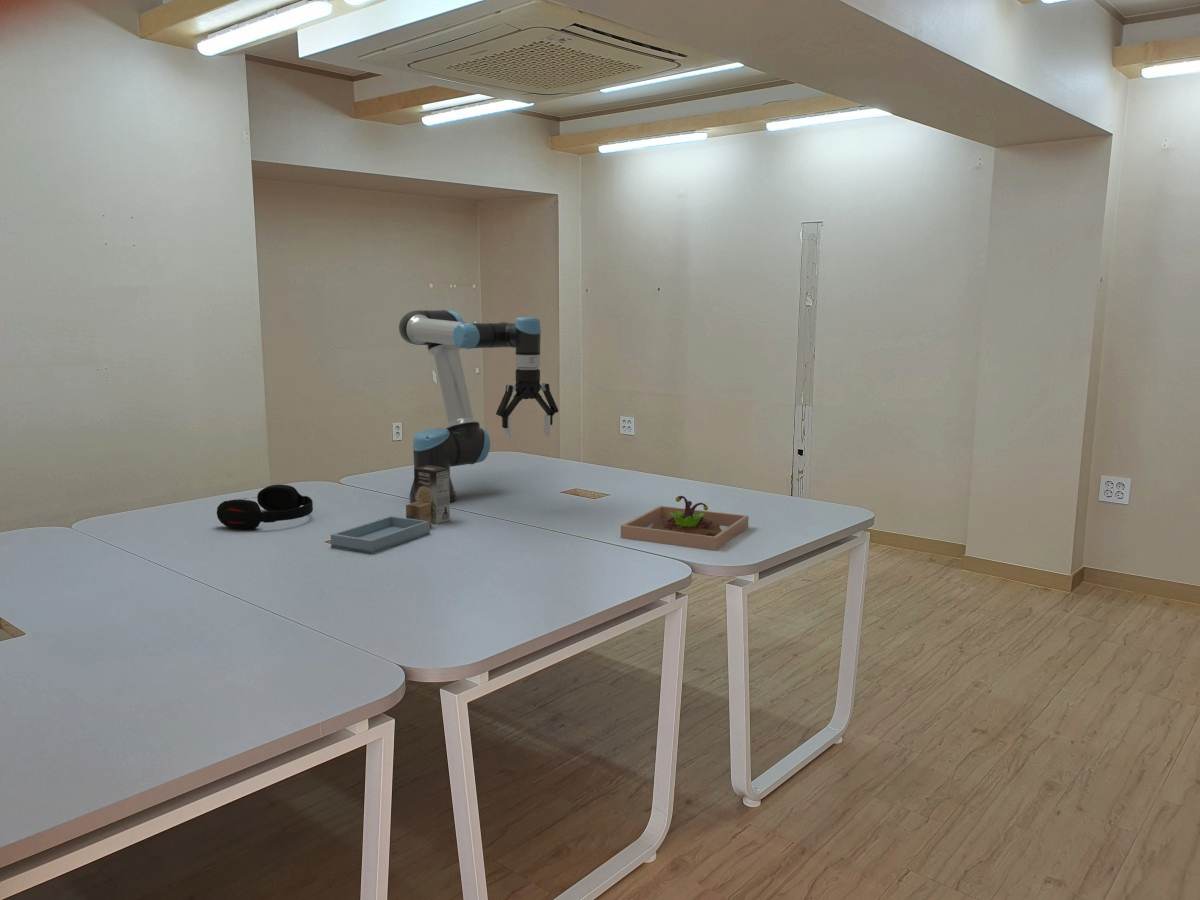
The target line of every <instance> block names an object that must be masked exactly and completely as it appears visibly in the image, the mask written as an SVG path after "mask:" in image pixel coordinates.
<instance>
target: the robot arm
mask: <svg viewBox="0 0 1200 900" xmlns="http://www.w3.org/2000/svg"><path fill="white" fill-rule="evenodd" d="M398 331H399V335H400V337H401V339H403V341H405V342H407V344H408V343H409V344H411V345H414V346H426V347H427V350H428V353H429V354H430V355H432V356H433V357H434V361H435V367H436V371H437V376H438V380H439V381H438V382H439V384H440V388H441V389H440V390H441V395H442V399H443V404H444V408H445V412H446V413H445V414H446V418H447V422H448V423H447V425H446V427H445V428H444V427H443V428H441V427H440V428H439V427H438V428H430V429H425V430H421V431H419V432H417V433H415V435H414V436H413V440H412V441H413V443H412V451H413V469H414V468H418V467H422V466H426V465H431V466H437V467H443V468H449V488H450V503H453V502H454V501H456V499H457V496H456V495H457V492H456V491H455V488H454V485H453V481H452V479H451V478H452V477H451V468H452V467H457V466H458V467H459V466H466V465H474V464H478V463H481V462H484V461H485V460H486V459H487V457H488V456H489V452H490V450H491V438H490V435H489V433H488V432H487V430H486V429H484V428H481V426H480V422H479V421H478V420H477V419H475V418H474V416H473V415H474V413H473V411H472V407H471V401H470V397H469V391H468V387H467V383H466V377H465V374H464V369H463V364H462V359H461V355H460V350H461V349H466V350H471V349H472V350H473V349H483V348H484V349H485V348H486V349H491V348H493V349H494V348H497V349H498V348H515V385H512V384H506V385H505V392H504V394H503V396H502V399H501V400H500V401H501V402H500V403H499V406H498V408H497V410H496V413H495V414H496V415H497V416H499V417H501V426H502V429H504V439H507V440H512V439H511V438H512V434H511V432H512V429H511V428H512V420H511V419H512V417H509V416H510V415H511V414H512V413H513V411H514V410H515V409H516V407H517V406H518V404H519V403H520V402H521V401H522V400H529V399H531V400H535V401H536V402H537V404H538V405H539V406H540V407H541V408H542V410H543V411H544V412H545V413H546V414H543V435H544V436H546V437H551V426H553V422H554V419H553V416H554V415H555V414H557V413H558V412H559V408H558V406H557V404H556V402H555V399H554V398H553V396H552V392H551V390H550V384H549V383H545V382H543V383H540V381H541V370H540V369H539V368H540V367H541V333H542V330H541V319H539V318H537V317H529V316H528V317H527V316H526V317H521V316H520V317H517V318H516V319H515V323H514V322H513V323H512V322H504V321H503V322H501V321H500V322H487V323H485V322H484V323H482V322H481V323H480V322H465V321H464V319H463V317H462V316H461V315H460V314H459V313H457V312H456V311H454V310H447V309H442V310H439V309H438V310H422V309H421V310H420V309H419V310H412V311H409V312H407V313H406V314H404V315H403V316H402V317H401V319H400V321H399V325H398ZM540 391H542V392H543V395H544V397H545V400H546V401H545V400H544V398H543V396H542V395H541V394H540ZM514 392H516V393H515V394H514V396H513V395H512V394H513V393H514ZM512 396H513V398H512ZM511 398H512V399H511ZM510 400H511V401H510ZM409 502H410V504H411V503H414V502H415V486H414V480H413V483H412V484H411V488H410V492H409Z"/></svg>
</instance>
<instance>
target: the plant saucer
mask: <svg viewBox="0 0 1200 900" xmlns="http://www.w3.org/2000/svg"><path fill="white" fill-rule="evenodd" d="M677 511H680V512H681V513H683V512H684V511H685V507H684V508H683V507H676V506H675V507H673V506H665V505H659V506H657V507H655V508H653V509H651V510H649V511H647V512H645V513H643V514H641V515H639V516H636V517H635V518H633V519H631V520H629V521H627V522H625V523H623V524H621V525H620V538H621V539H627V540H634V541H641V542H649V543H657V544H664V545H671V546H678V547H686V548H695V549H702V550H708V551H717V550H719V549H720V548H722V547H723V546H725V545H726V544H727V543H729V542H730V541H731V540H733V539H735V537H737V536H738V535H740V534H741V533H742V532H744V531H745V530H747V529H748V528H749V515H743V514H736V513H735V514H734V513H726V512H717V511H709V510H701V509H695V510H694V517H695V516H697V515H698V514H700V513H704V515H702V516H701V517H703V518H704V519H706V520H710V521H714V522H716V523H718V524H719V526H726V528H724V529H722V530H721V532H720V533H718V534H717V535H715V536H706V535H698V534H690V533H682V532H675V531H667V530H659V529H652V527H650V528H649V527H648V526H650V525H651V524H653V523H655V522H656V521H658V520H660V519H666V518H670V517H673V516H672V515H671V514H670V512H671V513H675V514H676V515H678V513H677Z"/></svg>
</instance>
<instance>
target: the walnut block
mask: <svg viewBox="0 0 1200 900" xmlns="http://www.w3.org/2000/svg"><path fill="white" fill-rule="evenodd" d="M405 518H409V519H416V520H423V521H429V526H430V528H431V527H432V523H431V503H424V502H414V503H411V502H410V503H408V504H405Z"/></svg>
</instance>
